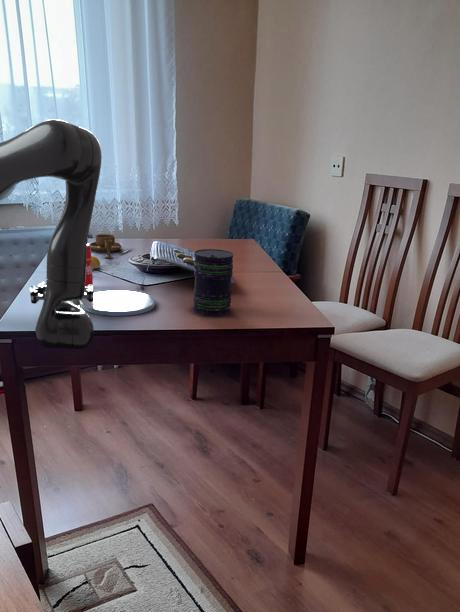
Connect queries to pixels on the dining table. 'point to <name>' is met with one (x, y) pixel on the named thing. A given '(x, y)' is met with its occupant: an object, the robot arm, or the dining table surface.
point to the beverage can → (88, 267)
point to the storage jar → (212, 282)
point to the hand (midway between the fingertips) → (61, 285)
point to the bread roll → (95, 262)
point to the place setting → (106, 244)
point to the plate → (119, 303)
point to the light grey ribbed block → (173, 255)
